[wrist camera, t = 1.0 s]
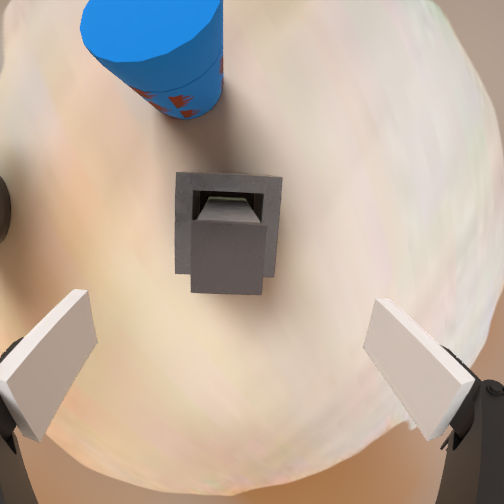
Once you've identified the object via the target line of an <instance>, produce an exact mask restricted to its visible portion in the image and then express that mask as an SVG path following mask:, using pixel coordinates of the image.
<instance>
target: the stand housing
mask: <svg viewBox="0 0 504 504" xmlns="http://www.w3.org/2000/svg"><path fill="white" fill-rule="evenodd" d="M281 190H282V177H277V176H270V175H257V174H241V173H221V172H189V171H187V172H176V190H175V274H191V222H192V220H197V219H198V217H199V207H200V191H225V192H245V193H255V196H254V211H253V212H254V213H255V215H256V216H257V218H258V219H259V221H260V223H266V225H267V233H266V246H265V258H264V270H263V277H274V271H275V260H276V249H277V238H278V227H279V215H280V203H281Z"/></svg>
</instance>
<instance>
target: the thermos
mask: <svg viewBox="0 0 504 504" xmlns="http://www.w3.org/2000/svg"><path fill="white" fill-rule="evenodd" d="M80 31H81V35H82V39H83V43H84V45H85V46H86V48H87V49H88V50H89V52H90V53H91V54H92V55H93V56H94V57H95V58H96V59H97V60H98V61H99V62H100V63H101V64H102V65H103V66H104V67H105V68H107V69H108V70H109V71H111V72H112V73H113V74H114V75H116V76H117V77H118V78H119V79H121V80H122V81H123V82H124V83H126V84H127V85H128V86H129V87H131V88H132V89H133V90H134V91H136V92H137V93H138V94H139V95H140V96H142V97H143V98H144V99H145V100H146V101H148V102H149V103H150V104H151V105H153V106H154V107H155V108H156V109H157V110H159V111H160V112H162V113H164V114H166V115H168V116H170V117H173V118H175V119H186V120H188V119H192V118H196V117H200V116H201V115H203V114H205V113H206V112H208V111H210V110H211V109H212V107H213V106H214V105H215V104H216V103H217V102H218V100H219V97H220V94H221V92H222V88H223V0H89V2H88V3H87V5H86V7H85V8H84V10H83V15H82V19H81V24H80Z"/></svg>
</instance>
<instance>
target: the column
mask: <svg viewBox="0 0 504 504" xmlns="http://www.w3.org/2000/svg"><path fill="white" fill-rule="evenodd" d="M266 233H267V225H266V223H260V221H259V219H258V218H257V216H256V215H255V213H254V212H253V210H252V209H251V207H250V206H249V204H248V202H247V201H246V198H243V197H222V196H209V197H208V201H207V202H206V204H205V206H204V208H203V209H202V211H201V213H200V215H199V217H198V219H197V220H192V222H191V293H211V294H242V295H261V294H262V282H263V270H264V258H265V246H266Z"/></svg>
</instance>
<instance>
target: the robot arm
mask: <svg viewBox="0 0 504 504" xmlns="http://www.w3.org/2000/svg"><path fill="white" fill-rule="evenodd" d="M10 214H11V209H10V199H9V194H8V190H7V187H6V185H5V183H4V181H3V179H2V178H1V177H0V242H1V241H2V240H3V239H4V237H5V236H6V233H7V231H8V228H9V223H10ZM96 344H97V337H96V332H95V328H94V323H93V317H92V312H91V306H90V300H89V294H88V290H79V289H74V290H73V291H71V292H70V293H69V294H68V295H67V296H66V297H65V298H64V299H63V300H62V301H61V302H60V303H59V304H58V305H57V306H55V307H54V308H53V309H52V310H51V311H50V312H49V313H48V314H47V315H46V316H45V317H44V318H43V319H42V320H41V321H40V322H39V323H38V324H37V325H36V326H35V327H34V328H33V329H32V330H31V331H30V332H29V333H28V334H27V335H26V336H25V337H22V338H20V339H19V340H17V341H15V342H14V343H12V344H11V346H10V347H9V348H8V349H7V350H6V352H4V353H3V354H2V355H1V358H0V504H38V502H37V499H36V497H35V494H34V491H33V489H32V486H31V483H30V481H29V478H28V475H27V472H26V469H25V466H24V462H23V459H22V456H21V452H20V448H19V445H18V441H17V437H16V435H15V433H14V432H13V431H14V429H15V427H16V425H17V426H18V428H19V429H20V431H21V433H22V434H23V436H25V437H27V438H29V439H32V440H34V441H37V442H41V440H42V438H43V436H44V434H45V432H46V430H47V428H48V426H49V425H50V423H51V421H52V419H53V417H54V415H55V413H56V411H57V410H58V408H59V406H60V404H61V402H62V401H63V399H64V397H65V395H66V394H67V392H68V390H69V388H70V387H71V385H72V383H73V381H74V380H75V378H76V376H77V375H78V373H79V371H80V370H81V368H82V366H83V365H84V363H85V361H86V360H87V358H88V357H89V355H90V353H91V352H92V350H93V349H94V347H95V345H96ZM363 348H364V350H365V351H366V353H367V354H368V355H369V357H370V358H371V360H372V361H373V362H374V364H375V365H376V367H377V368H378V370H379V371H380V372H381V374H382V375H383V377H384V378H385V380H386V381H387V382H388V384H389V385H390V387H391V388H392V390H393V391H394V393H395V394H396V395H397V397H398V398H399V400H400V401H401V403H402V404H403V406H404V407H405V409H406V410H407V412H408V413H409V415H410V416H411V418H412V419H413V421H414V422H415V424H416V425H417V427H418V428H419V430H420V431H421V432H422V434H423V436H424V437H425V439H426V440H427V441H429V440H432V439H434V438H437V437H439V436H442V435H443V433H444V432H445V430H446V429H447V427H448V425H449V424H450V425H451V427H452V428H453V430H452V432H451V433H450V435H449V436H448V437H447V439H446V440H445V442H444V443H443V444H442V446H441V448H440V449H441V450H442V449H443V448H444V447H445V446H446V444H448V448H447V449H446V451H447V455H446V460H445V466H444V470H443V475H442V479H441V484H440V489H439V493H438V496H437V500H436V503H435V504H504V386H503V385H502V384H501V383H499V382H497V381H494V380H484V381H483V382H482V381H481V380H480V379H479V378H478V377H477V376H476V375H475V374H474V373H473V372H472V371H471V370H470V369H469V368H468V367H467V366H466V365H465V364H464V363H462V361H461V360H460V359H459V358H456V356H455V355H454V354H453V353H452V352H451V351H450V350H449V349H447V348H445V347H444V346H442V345H440V344H439V343H438V342H436V341H435V340H434V339H433V338H432V337H431V336H430V335H429V334H428V333H427V332H426V331H425V330H424V329H422V328H421V327H420V326H419V325H418V324H417V323H416V322H415V321H414V320H413V319H412V318H410V317H409V316H408V315H407V314H406V313H405V312H404V311H403V310H401V309H400V308H399V307H398V306H397V305H396V304H395V303H394V302H392V301H391V300H390V299H389V298H378V299H375V303H374V307H373V311H372V315H371V319H370V323H369V327H368V331H367V334H366V338H365V342H364V345H363Z"/></svg>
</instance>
